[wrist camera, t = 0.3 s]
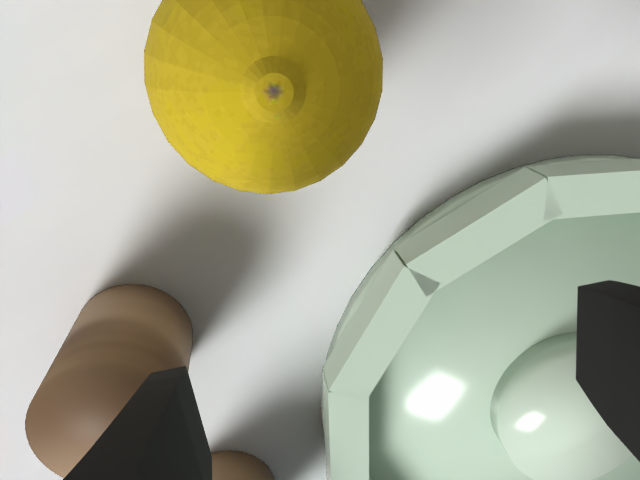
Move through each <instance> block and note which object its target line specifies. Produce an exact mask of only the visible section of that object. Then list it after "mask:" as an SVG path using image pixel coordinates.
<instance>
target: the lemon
mask: <svg viewBox="0 0 640 480" xmlns="http://www.w3.org/2000/svg"><path fill="white" fill-rule="evenodd" d="M382 73H383V58H382V54H381V50H380V45H379V41H378V37H377V32H376V28H375V26H374V24H373V22H372V20H371V18H370V16H369V14H368V12H367V11H366V9H365V7H364V5H363V3H362V1H361V0H162V2H161V4H160V6H159V7H158V9H157V11H156V13H155V15H154V16H153V18H152V22H151V26H150V30H149V34H148V38H147V42H146V46H145V50H144V76H145V86H146V90H147V93H148V97H149V101H150V105H151V108H152V112H153V115H154V117H155V118H156V120H157V122H158V124H159V126H160V128H161V129H162V131H163V133H164V135H165V137H166V139H167V140H168V142H169V143H170V144H171V145H172V146H173V147H174V149H175V150H176V151H177V152H178V153H179V154H180V155H181V156H182V157H183V159H184V160H185V161H186V162H187V163H188V164H189V165H191V166H192V167H194V168H195V169H197V170H198V171H200V172H201V173H203V174H204V175H206V176H207V177H209V178H210V179H212V180H213V181H215V182H218V183H221V184H223V185H226V186H229V187H232V188H234V189H237V190H240V191H247V192H255V193H263V194H272V193H280V192H287V191H295V190H298V189H300V188H303V187H305V186H308V185H311V184H313V183H316V182H318V181H321V180H322V179H324V178H325V177H327V176H328V175H330V174H331V173H332V172H334V171H335V170H337V169H338V168H340V167H341V166H343V165H344V164H345V162H346V161H347V160H348V159H349V158H350V157H351V156H352V155H353V153H354V152H355V151H356V150H357V149H358V148H359V147H360V145H361V144H362V143H363V141H364V139H365V137H366V135H367V133H368V131H369V129H370V127H371V125H372V123H373V122H374V120H375V117H376V113H377V109H378V105H379V101H380V97H381V93H382Z"/></svg>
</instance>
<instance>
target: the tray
mask: <svg viewBox="0 0 640 480" xmlns="http://www.w3.org/2000/svg"><path fill="white" fill-rule="evenodd" d="M607 280H612V281H618V282H623V283H627V284H632V285H636V286H640V159H636V158H629V157H623V156H616V155H577V156H570V157H562V158H555V159H547V160H544V161H540V162H536V163H532V164H528V165H525V166H521V167H517V168H513V169H511V170H508V171H506V172H503V173H501V174H498V175H496V176H494V177H491V178H489V179H486V180H484V181H481V182H479V183H477V184H475V185H474V186H472V187H470V188H468V189H466V190H464V191H463V192H461V193H459V194H457V195H455V196H453V197H452V198H450V199H448V200H447V201H445V202H444V203H442V204H441V205H440V206H438V207H437V208H435V209H434V210H433V211H431V212H430V213H428V214H427V215H426V216H424V217H423V218H421V219H420V220H419V221H418V222H416V223H415V224H414V225H413V226H412V227H411V228H410V229H409V230H408V231H406V232H405V233H404V234H403V235H402V236H401V237H400V238H399V239H398V240H397V241H395V242H394V243H393V244H392V245H391V246H390V248H389V249H388V250H387V251H386V252H385V253H384V255H383V256H382V257H381V258H380V259H379V260H378V261H377V263H376V264H375V265H374V266H373V267H372V268H371V269H370V271H369V272H368V274H367V275H366V277H365V278H364V280H363V281H362V283H361V284H360V286H359V287H358V289H357V290H356V291H355V293H354V294H353V296H352V297H351V299H350V301H349V303H348V305H347V307H346V309H345V311H344V313H343V315H342V317H341V319H340V321H339V323H338V325H337V328H336V331H335V334H334V336H333V339H332V342H331V345H330V348H329V351H328V354H327V359H326V363H325V365H324V366H323V369H322V372H323V379H322V393H321V415H322V423H323V432H324V438H325V455H326V479H327V480H640V462H639V461H638V460H637V459H636V457H635V456H634V455H633V454H632V453H631V452H630V451H629V450H628V448H627V447H626V446H625V445H624V444H623V443H622V442H621V441H620V439H619V438H618V437H617V436H616V435H615V434H614V433H613V431H612V430H611V429H610V428H609V427H608V426H607V424H606V423H605V422H604V420H603V419H602V417H601V416H600V415H599V413H598V412H597V410H596V409H595V408H594V406H593V405H592V403H591V402H590V400H589V399H588V397H587V396H586V394H585V393H584V391H583V390H582V388H581V387H580V385H579V384H578V382H577V381H576V341H577V294H578V286H582V285H587V284H592V283H597V282H602V281H607Z"/></svg>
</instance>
